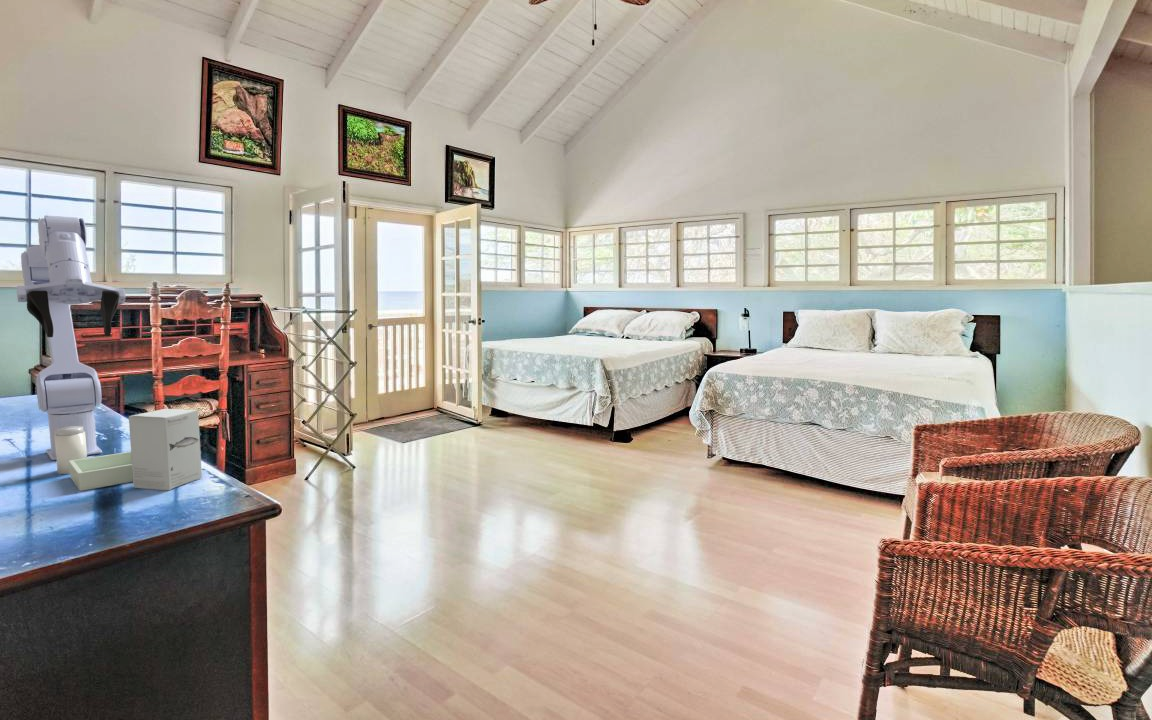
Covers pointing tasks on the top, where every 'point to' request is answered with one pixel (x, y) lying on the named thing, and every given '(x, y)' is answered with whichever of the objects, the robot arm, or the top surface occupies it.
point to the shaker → (69, 446)
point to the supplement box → (165, 448)
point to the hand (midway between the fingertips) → (80, 333)
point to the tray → (101, 471)
